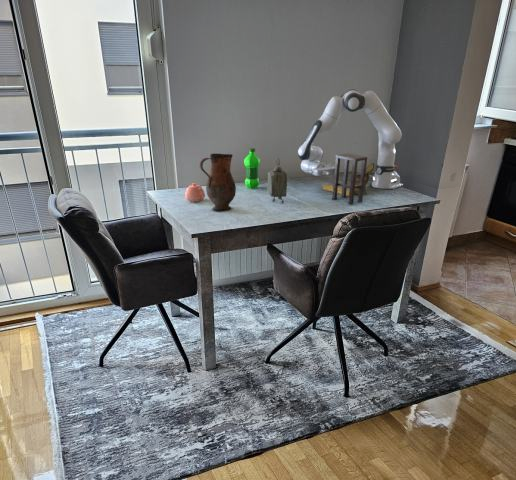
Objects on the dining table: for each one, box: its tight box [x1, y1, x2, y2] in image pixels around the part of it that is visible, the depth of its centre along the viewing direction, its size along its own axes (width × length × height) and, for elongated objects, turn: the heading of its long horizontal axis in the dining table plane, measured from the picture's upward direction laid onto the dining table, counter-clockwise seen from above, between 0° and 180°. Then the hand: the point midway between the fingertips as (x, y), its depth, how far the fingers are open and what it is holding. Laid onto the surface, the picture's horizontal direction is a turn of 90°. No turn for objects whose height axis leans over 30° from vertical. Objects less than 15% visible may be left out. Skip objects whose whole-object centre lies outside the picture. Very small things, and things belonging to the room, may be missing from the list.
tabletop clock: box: [267, 157, 288, 204], centre depth 282 cm, size 14×9×25 cm, turn 9°
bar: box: [322, 183, 350, 197], centre depth 308 cm, size 3×24×3 cm, turn 37°
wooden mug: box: [354, 162, 375, 196], centre depth 303 cm, size 9×14×18 cm, turn 115°
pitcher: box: [199, 153, 237, 212], centre depth 264 cm, size 17×21×30 cm
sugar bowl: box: [184, 182, 206, 203], centre depth 287 cm, size 12×14×10 cm
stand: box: [332, 152, 368, 205], centre depth 284 cm, size 10×16×26 cm, turn 37°
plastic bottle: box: [243, 147, 261, 190], centre depth 313 cm, size 10×10×25 cm
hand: (334, 172), depth 306 cm, fingers open, 8 cm apart
